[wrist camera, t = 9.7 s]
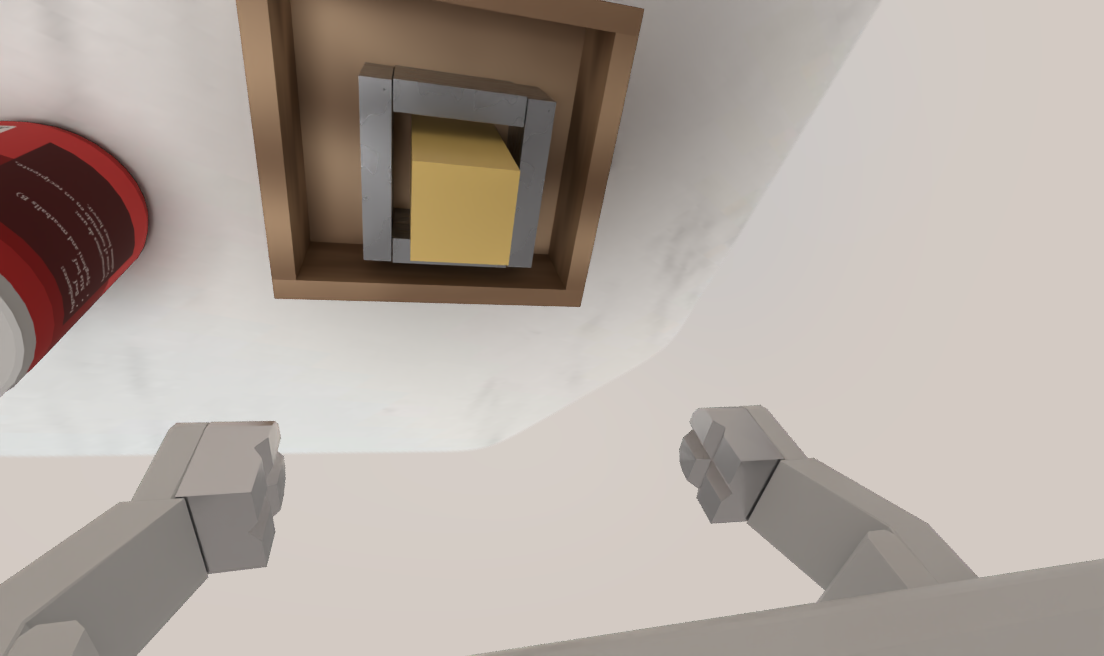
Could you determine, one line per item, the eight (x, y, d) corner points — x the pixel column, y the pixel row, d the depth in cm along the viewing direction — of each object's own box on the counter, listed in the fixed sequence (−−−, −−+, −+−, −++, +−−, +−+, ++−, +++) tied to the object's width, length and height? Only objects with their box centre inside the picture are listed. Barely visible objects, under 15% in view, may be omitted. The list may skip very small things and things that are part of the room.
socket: (365, 60, 24) (358, 73, 21) (538, 85, 26) (556, 100, 23) (368, 228, 28) (363, 261, 25) (517, 237, 30) (530, 268, 27)
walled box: (261, -63, 21) (226, -73, 17) (606, 3, 25) (644, 9, 21) (293, 252, 29) (274, 298, 25) (558, 265, 33) (580, 306, 29)
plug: (411, 114, 26) (412, 160, 19) (493, 123, 27) (520, 171, 20) (410, 194, 28) (410, 260, 21) (485, 200, 29) (508, 265, 22)
